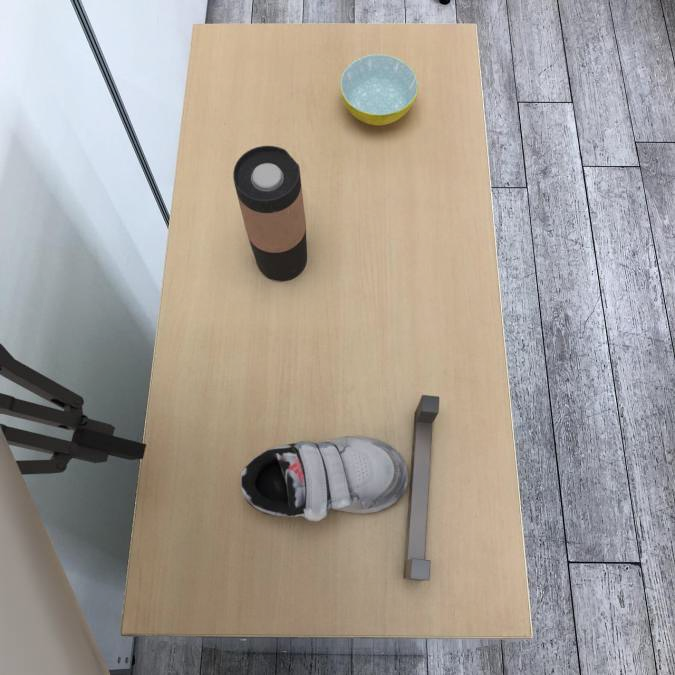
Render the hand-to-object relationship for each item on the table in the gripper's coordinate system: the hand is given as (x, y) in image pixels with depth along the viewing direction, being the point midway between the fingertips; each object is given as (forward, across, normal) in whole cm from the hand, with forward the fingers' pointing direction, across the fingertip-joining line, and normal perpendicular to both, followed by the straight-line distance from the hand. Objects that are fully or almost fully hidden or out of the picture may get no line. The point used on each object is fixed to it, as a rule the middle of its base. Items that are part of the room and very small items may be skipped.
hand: (138, 452), depth 65 cm
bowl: (+24, -58, +4) cm, 63 cm away
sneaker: (+23, -1, +4) cm, 24 cm away
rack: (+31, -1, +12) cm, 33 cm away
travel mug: (+16, -31, -3) cm, 35 cm away
